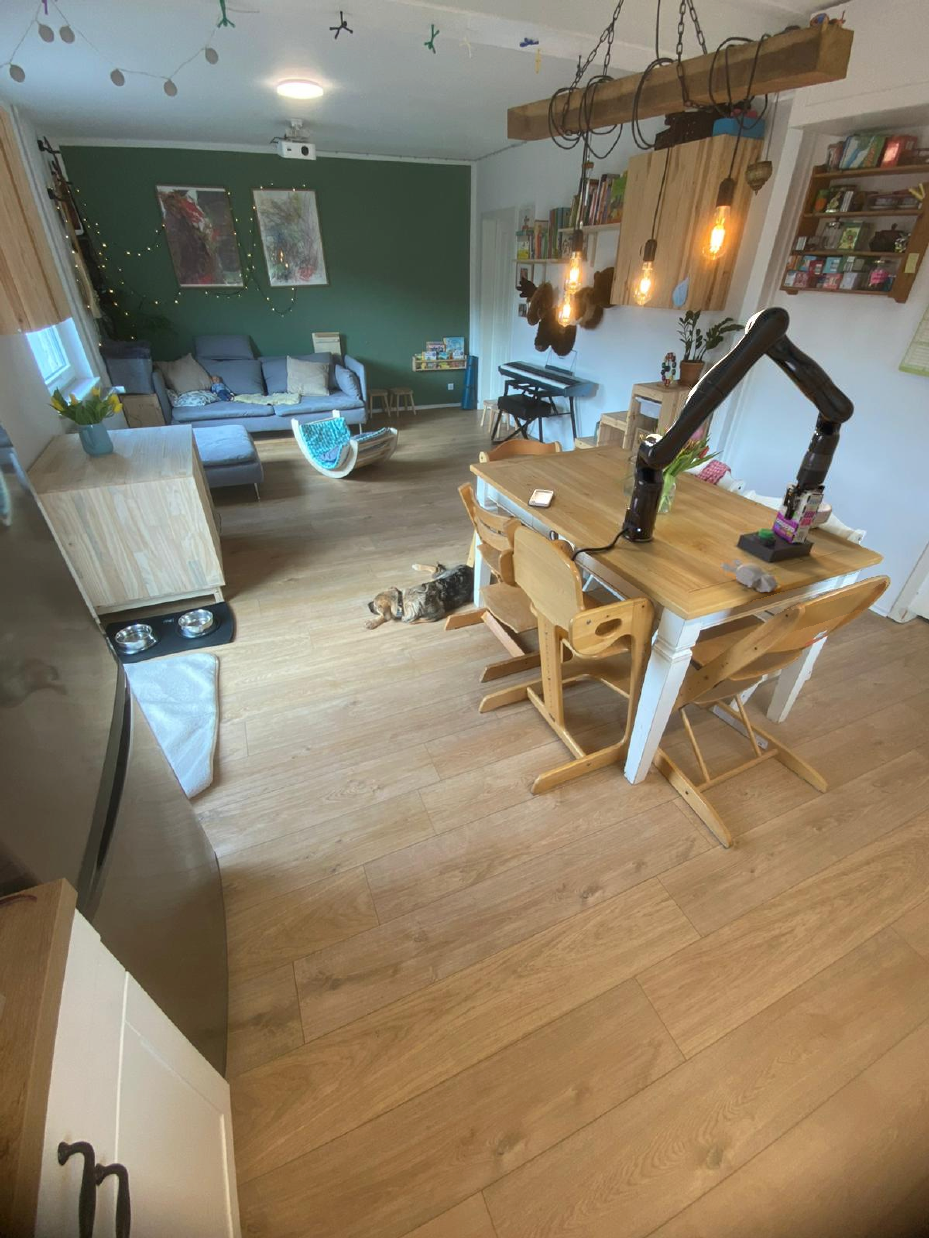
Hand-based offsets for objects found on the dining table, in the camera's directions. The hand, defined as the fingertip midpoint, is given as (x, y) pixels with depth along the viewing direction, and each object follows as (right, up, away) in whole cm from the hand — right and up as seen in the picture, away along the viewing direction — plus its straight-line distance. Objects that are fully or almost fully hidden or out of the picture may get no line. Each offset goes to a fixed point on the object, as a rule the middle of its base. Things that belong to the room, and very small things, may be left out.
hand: (794, 517), depth 170 cm
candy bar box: (0, -6, +4) cm, 7 cm away
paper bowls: (+17, +2, +24) cm, 29 cm away
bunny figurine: (-24, -22, -15) cm, 36 cm away
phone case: (-76, +15, +39) cm, 87 cm away
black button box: (-5, -10, +4) cm, 12 cm away
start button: (-10, -6, -1) cm, 12 cm away
